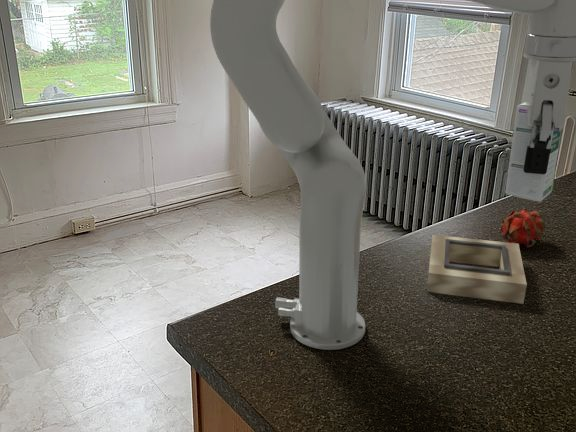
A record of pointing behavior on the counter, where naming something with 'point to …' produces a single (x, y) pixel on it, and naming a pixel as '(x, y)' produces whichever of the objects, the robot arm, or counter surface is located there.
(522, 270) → the socket block
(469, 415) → the counter surface
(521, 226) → the dragon fruit
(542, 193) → the syrup box
